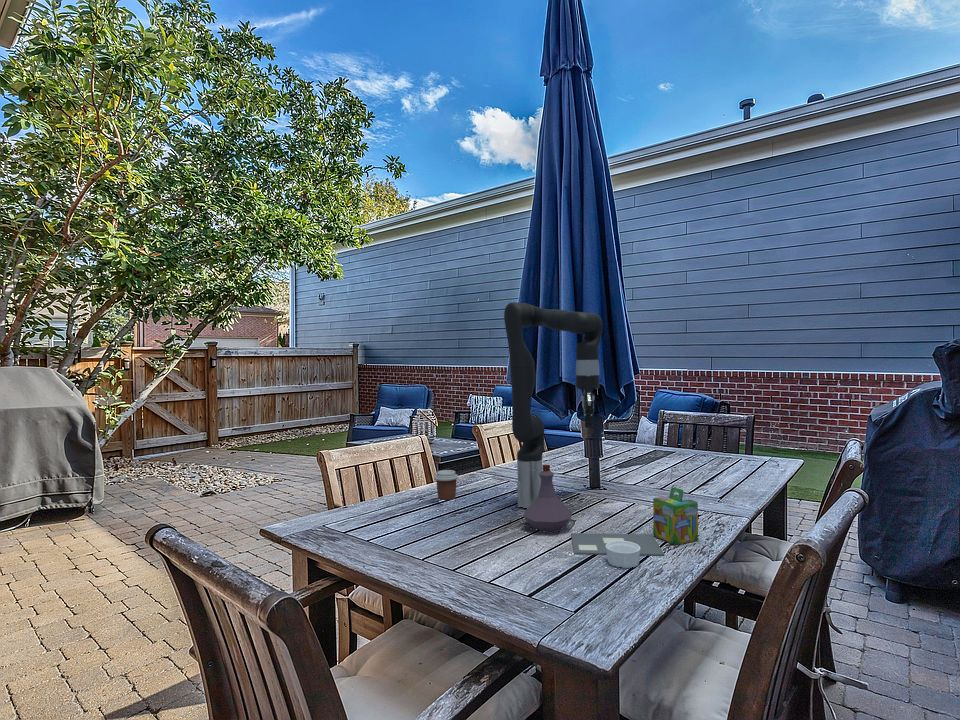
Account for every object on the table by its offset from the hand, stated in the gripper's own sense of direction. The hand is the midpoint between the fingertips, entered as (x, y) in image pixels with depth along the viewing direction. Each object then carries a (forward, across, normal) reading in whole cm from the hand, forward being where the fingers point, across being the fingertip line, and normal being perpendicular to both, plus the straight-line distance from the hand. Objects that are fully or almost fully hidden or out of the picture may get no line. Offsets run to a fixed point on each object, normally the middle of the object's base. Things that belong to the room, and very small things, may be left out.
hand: (588, 427), depth 164 cm
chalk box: (+32, +12, +24) cm, 41 cm away
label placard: (+31, +18, +6) cm, 37 cm away
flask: (+32, +4, -14) cm, 35 cm away
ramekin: (+32, +31, +6) cm, 45 cm away
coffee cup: (+32, -23, -52) cm, 65 cm away
